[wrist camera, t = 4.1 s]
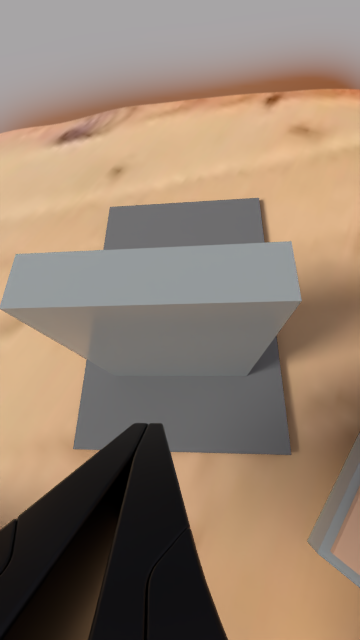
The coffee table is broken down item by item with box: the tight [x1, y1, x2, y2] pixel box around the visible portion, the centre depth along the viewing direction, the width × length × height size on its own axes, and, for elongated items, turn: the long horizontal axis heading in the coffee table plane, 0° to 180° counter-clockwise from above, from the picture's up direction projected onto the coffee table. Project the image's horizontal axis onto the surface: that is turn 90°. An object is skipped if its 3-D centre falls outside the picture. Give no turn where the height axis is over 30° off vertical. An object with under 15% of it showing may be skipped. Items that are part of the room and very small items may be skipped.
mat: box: [73, 198, 291, 455], centre depth 18 cm, size 18×12×1 cm, turn 179°
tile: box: [0, 241, 302, 376], centre depth 12 cm, size 2×8×10 cm, turn 89°
